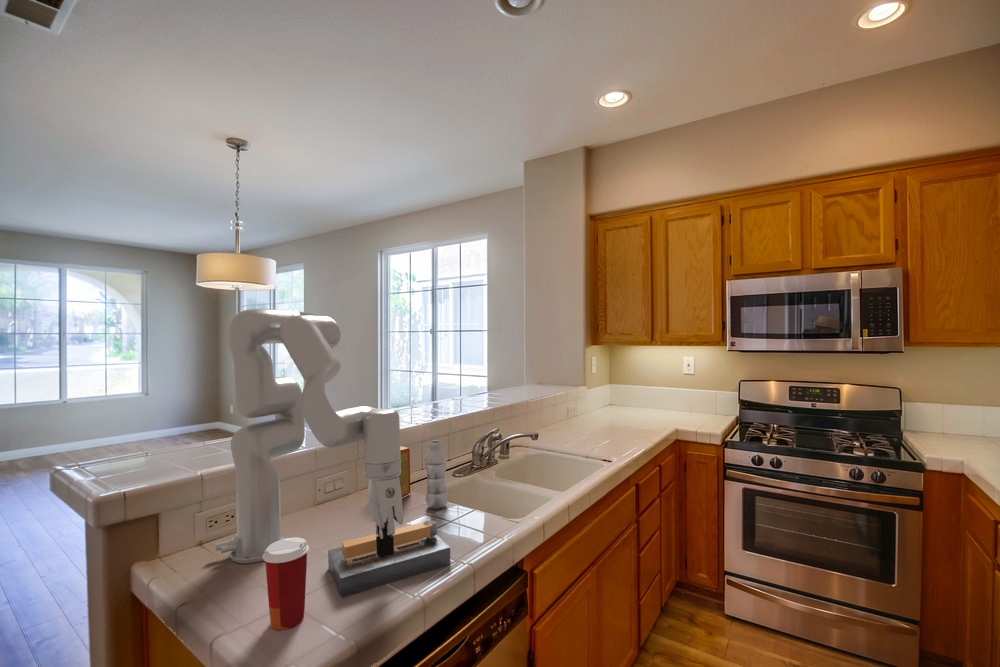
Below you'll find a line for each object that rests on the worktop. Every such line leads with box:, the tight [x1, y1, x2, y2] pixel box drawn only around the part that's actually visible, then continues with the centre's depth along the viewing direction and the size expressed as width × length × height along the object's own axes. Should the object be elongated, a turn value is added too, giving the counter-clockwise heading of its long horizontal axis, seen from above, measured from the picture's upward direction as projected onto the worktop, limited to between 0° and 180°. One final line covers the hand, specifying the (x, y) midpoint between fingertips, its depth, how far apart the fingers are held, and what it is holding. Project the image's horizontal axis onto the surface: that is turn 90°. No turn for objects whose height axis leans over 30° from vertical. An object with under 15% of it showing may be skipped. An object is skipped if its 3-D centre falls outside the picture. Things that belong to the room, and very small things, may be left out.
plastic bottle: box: [424, 440, 449, 510], centre depth 137 cm, size 6×7×20 cm
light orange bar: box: [341, 520, 438, 559], centre depth 102 cm, size 22×3×2 cm, turn 121°
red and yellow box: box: [399, 445, 411, 497], centre depth 148 cm, size 10×6×16 cm
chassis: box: [327, 533, 451, 599], centre depth 102 cm, size 24×14×5 cm, turn 121°
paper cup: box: [263, 537, 310, 632], centre depth 83 cm, size 8×8×14 cm
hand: (385, 554), depth 95 cm, fingers closed
